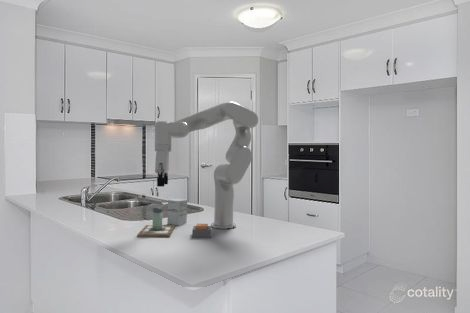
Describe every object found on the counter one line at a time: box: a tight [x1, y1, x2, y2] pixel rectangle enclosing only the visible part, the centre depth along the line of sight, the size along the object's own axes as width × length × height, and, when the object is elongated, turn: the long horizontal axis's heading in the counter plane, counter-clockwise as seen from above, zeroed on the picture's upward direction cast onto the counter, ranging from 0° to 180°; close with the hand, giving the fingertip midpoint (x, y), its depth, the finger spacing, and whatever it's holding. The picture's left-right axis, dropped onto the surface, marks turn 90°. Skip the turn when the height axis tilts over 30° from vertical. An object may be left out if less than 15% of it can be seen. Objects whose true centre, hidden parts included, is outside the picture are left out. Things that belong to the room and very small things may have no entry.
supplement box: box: [166, 198, 188, 227], centre depth 188 cm, size 7×7×13 cm
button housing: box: [191, 225, 212, 239], centre depth 163 cm, size 8×8×4 cm
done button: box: [195, 223, 209, 229], centre depth 163 cm, size 5×5×3 cm
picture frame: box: [136, 224, 176, 238], centre depth 168 cm, size 20×14×1 cm
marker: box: [152, 206, 163, 230], centre depth 168 cm, size 4×4×10 cm
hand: (162, 185), depth 168 cm, fingers open, 9 cm apart
